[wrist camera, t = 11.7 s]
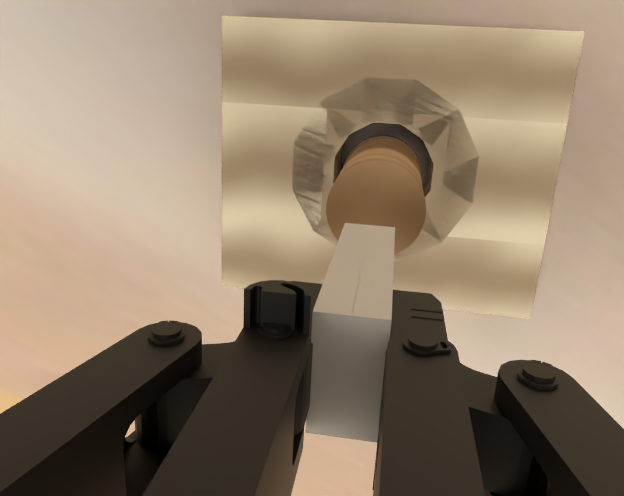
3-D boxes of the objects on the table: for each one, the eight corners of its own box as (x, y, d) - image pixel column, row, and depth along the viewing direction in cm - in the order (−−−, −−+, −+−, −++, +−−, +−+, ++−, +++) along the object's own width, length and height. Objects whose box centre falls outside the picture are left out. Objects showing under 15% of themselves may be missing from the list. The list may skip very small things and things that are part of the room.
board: (241, 21, 35) (222, 15, 31) (563, 35, 32) (584, 31, 29) (238, 265, 40) (221, 286, 36) (517, 293, 37) (530, 318, 34)
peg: (352, 125, 36) (326, 154, 23) (422, 129, 35) (434, 162, 23) (347, 193, 37) (320, 255, 25) (415, 198, 36) (422, 264, 24)
